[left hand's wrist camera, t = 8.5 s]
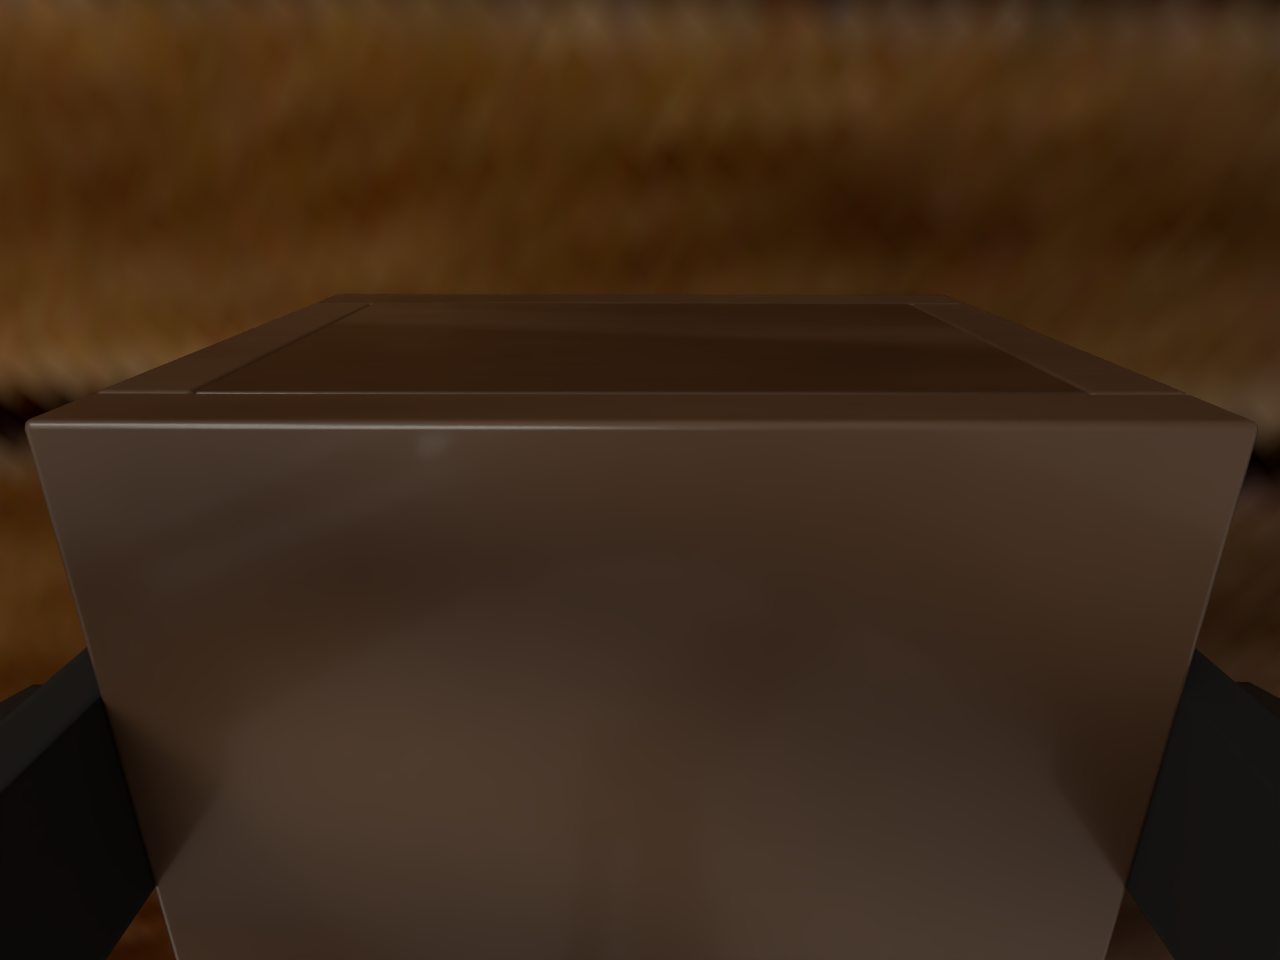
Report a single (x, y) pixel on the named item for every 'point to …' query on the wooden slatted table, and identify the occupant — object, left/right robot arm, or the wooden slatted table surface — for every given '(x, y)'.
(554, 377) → the cabinet
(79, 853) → the left robot arm
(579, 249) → the wooden slatted table surface
